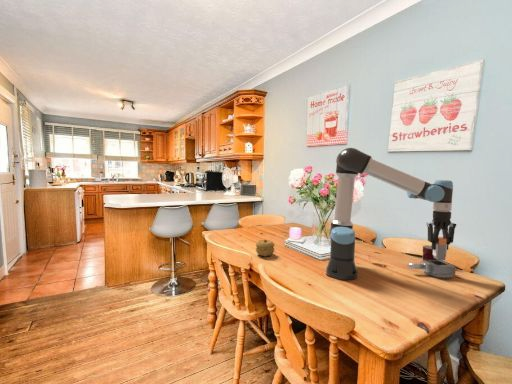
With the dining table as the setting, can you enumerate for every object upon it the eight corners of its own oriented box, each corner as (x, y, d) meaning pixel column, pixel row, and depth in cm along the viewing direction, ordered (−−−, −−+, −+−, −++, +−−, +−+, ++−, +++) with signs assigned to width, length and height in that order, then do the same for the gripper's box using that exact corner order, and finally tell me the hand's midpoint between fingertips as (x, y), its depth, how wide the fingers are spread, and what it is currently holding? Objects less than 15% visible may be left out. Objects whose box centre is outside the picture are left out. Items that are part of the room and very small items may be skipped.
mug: (432, 268, 139) (433, 251, 138) (416, 264, 146) (417, 247, 145) (441, 265, 145) (442, 248, 144) (426, 261, 151) (427, 244, 151)
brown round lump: (273, 252, 166) (273, 237, 165) (275, 258, 154) (275, 242, 153) (255, 252, 166) (255, 237, 165) (255, 258, 154) (256, 241, 153)
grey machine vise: (415, 278, 127) (415, 266, 126) (402, 269, 138) (403, 258, 138) (458, 279, 125) (459, 267, 125) (442, 270, 137) (442, 259, 137)
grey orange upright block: (437, 259, 129) (439, 238, 128) (433, 257, 133) (434, 236, 132) (445, 260, 129) (446, 238, 128) (440, 257, 133) (441, 237, 132)
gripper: (429, 211, 126) (426, 257, 128) (464, 212, 125) (461, 258, 127) (420, 209, 133) (418, 253, 135) (454, 209, 132) (451, 253, 134)
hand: (439, 255), depth 131 cm, fingers closed on grey orange upright block, 4 cm apart
